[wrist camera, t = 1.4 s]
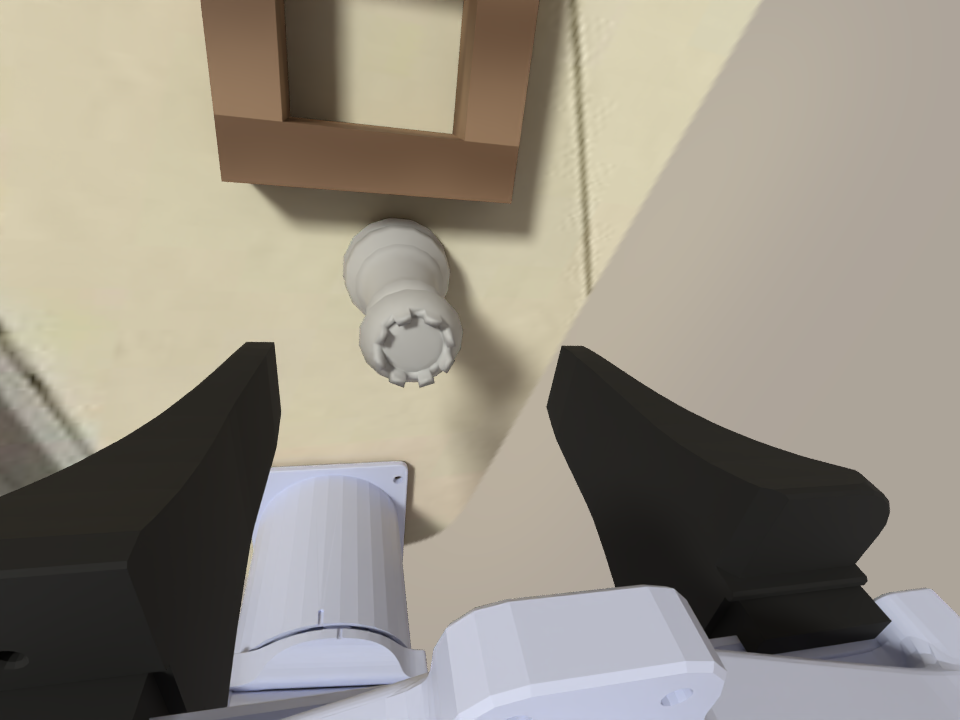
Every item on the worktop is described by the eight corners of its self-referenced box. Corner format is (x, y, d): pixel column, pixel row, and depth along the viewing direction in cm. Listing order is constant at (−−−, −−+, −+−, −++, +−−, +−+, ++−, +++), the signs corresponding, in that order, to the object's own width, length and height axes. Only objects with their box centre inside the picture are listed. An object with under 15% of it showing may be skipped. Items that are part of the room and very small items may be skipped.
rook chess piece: (467, 258, 22) (517, 337, 16) (404, 332, 23) (425, 436, 17) (385, 191, 20) (402, 249, 14) (321, 275, 21) (305, 367, 15)
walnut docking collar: (495, 190, 21) (510, 203, 19) (236, 169, 19) (221, 181, 17) (534, -124, 17) (560, -154, 14) (198, -206, 14) (170, -257, 12)
